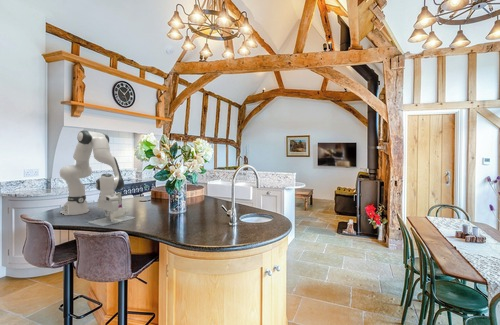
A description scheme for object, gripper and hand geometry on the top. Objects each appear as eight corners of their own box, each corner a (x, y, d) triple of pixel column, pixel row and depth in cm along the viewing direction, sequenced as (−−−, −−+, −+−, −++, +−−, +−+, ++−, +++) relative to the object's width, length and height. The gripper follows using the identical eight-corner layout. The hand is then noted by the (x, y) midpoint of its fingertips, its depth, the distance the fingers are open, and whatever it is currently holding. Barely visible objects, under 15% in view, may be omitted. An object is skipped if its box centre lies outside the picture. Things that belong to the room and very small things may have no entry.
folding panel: (110, 222, 179) (110, 213, 179) (110, 218, 189) (109, 210, 189) (113, 221, 180) (113, 213, 180) (112, 218, 190) (112, 210, 190)
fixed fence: (109, 218, 191) (109, 209, 190) (123, 215, 201) (123, 206, 200) (110, 218, 190) (110, 209, 189) (125, 215, 200) (125, 206, 199)
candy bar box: (119, 211, 213) (118, 192, 213) (122, 212, 211) (122, 193, 210) (105, 214, 204) (104, 194, 203) (108, 215, 201) (108, 194, 201)
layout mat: (87, 222, 181) (87, 221, 181) (120, 215, 203) (120, 214, 203) (103, 226, 172) (103, 225, 172) (135, 218, 194) (135, 217, 194)
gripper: (94, 195, 184) (94, 215, 185) (111, 198, 174) (111, 219, 175) (103, 194, 190) (103, 213, 190) (120, 197, 180) (120, 217, 180)
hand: (107, 216), depth 182 cm, fingers closed
